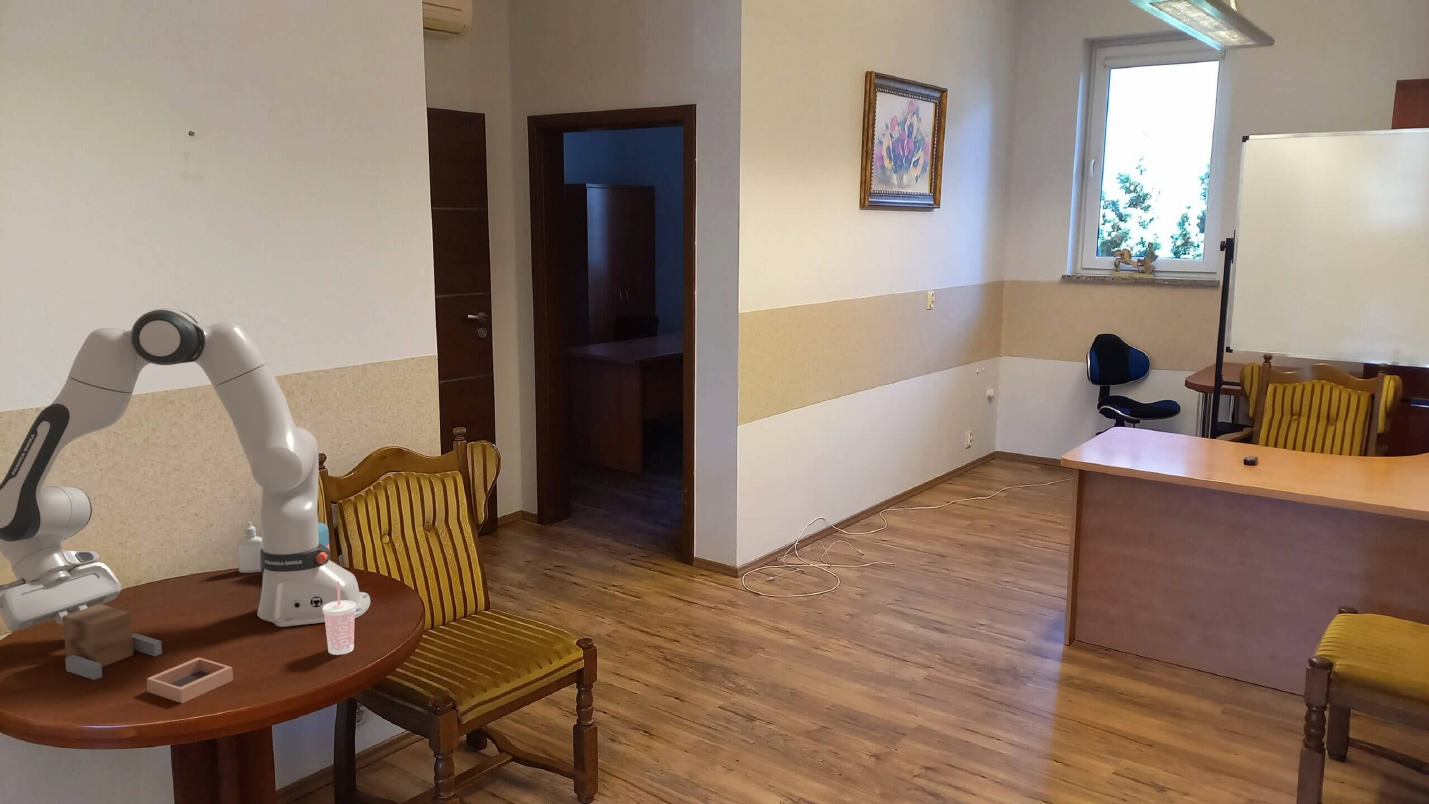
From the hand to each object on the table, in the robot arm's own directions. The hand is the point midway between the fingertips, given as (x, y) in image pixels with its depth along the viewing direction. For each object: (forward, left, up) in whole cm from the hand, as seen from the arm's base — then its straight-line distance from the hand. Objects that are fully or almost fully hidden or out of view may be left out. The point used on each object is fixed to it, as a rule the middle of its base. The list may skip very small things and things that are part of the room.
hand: (81, 630), depth 184 cm
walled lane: (-8, +6, -4) cm, 11 cm away
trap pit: (-25, +18, -4) cm, 31 cm away
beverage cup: (-48, +5, -4) cm, 48 cm away
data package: (-30, -42, -4) cm, 52 cm away
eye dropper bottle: (-18, -44, -4) cm, 48 cm away
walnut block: (-4, +3, -4) cm, 7 cm away
